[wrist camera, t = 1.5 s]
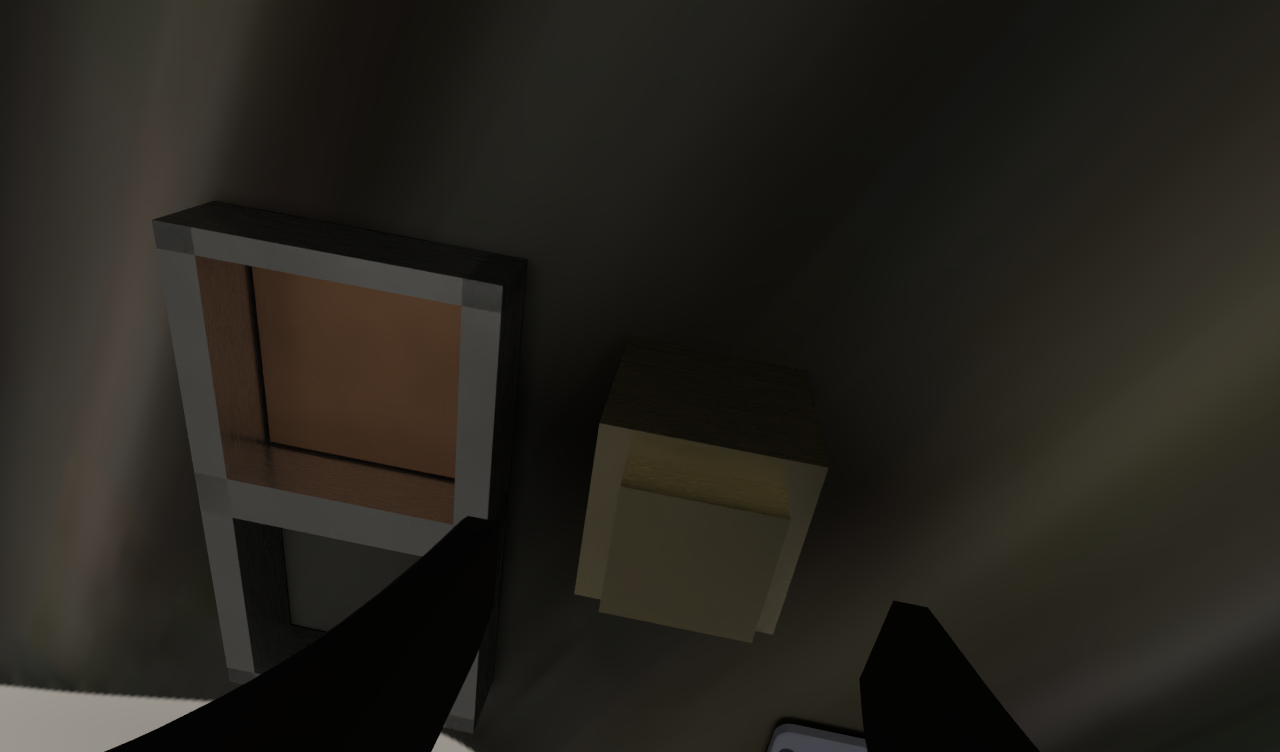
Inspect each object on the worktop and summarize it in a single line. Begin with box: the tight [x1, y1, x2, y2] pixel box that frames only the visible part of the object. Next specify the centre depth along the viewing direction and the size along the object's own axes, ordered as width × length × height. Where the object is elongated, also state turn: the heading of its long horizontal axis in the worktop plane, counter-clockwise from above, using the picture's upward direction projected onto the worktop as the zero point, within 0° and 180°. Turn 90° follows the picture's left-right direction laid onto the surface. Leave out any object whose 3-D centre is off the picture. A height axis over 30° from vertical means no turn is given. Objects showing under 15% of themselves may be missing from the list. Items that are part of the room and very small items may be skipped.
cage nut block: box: [574, 336, 829, 643], centre depth 16 cm, size 4×4×6 cm
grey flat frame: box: [152, 201, 527, 733], centre depth 19 cm, size 15×8×2 cm, turn 171°
